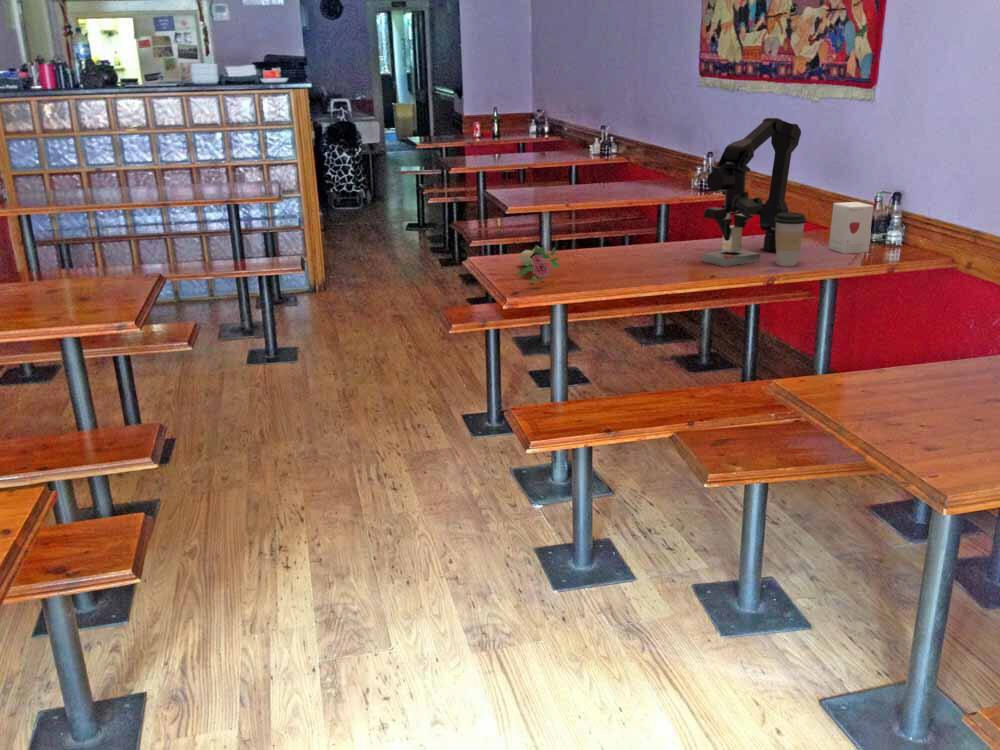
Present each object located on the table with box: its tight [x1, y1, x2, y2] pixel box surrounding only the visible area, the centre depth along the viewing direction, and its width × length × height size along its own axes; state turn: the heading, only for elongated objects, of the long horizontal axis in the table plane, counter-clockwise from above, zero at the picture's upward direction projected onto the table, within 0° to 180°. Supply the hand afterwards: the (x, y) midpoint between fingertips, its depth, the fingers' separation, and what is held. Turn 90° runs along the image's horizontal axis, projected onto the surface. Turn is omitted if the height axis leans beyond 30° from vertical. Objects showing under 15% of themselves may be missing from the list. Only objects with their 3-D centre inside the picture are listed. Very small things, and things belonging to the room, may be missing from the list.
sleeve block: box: [701, 248, 761, 267], centre depth 286 cm, size 14×10×3 cm
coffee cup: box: [774, 212, 808, 267], centre depth 279 cm, size 9×9×15 cm
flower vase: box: [518, 245, 561, 282], centre depth 269 cm, size 12×12×35 cm
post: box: [721, 224, 743, 252], centre depth 284 cm, size 4×4×7 cm
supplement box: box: [828, 201, 874, 255], centre depth 296 cm, size 9×9×15 cm
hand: (732, 239), depth 284 cm, fingers closed on post, 4 cm apart
